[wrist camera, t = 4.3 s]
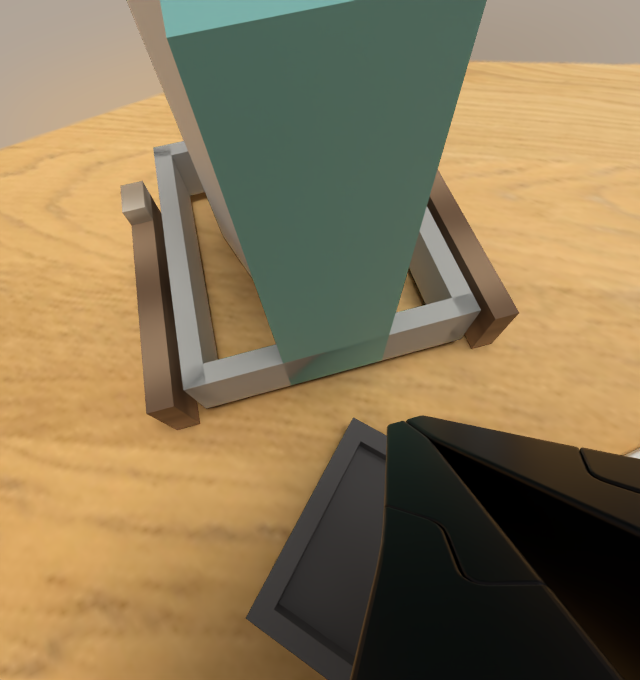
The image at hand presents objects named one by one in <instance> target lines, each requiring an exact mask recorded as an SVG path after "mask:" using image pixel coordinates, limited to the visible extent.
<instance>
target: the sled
mask: <svg viewBox="0 0 640 680" xmlns="http://www.w3.org/2000/svg"><path fill="white" fill-rule="evenodd" d="M486 1H487V0H160V4H161V10H162V15H163V21H164V26H165V32H166V38H167V41H168V43H169V46H170V49H171V52H172V54H173V57H174V60H175V63H176V66H177V68H178V71H179V74H180V77H181V80H182V82H183V85H184V88H185V91H186V94H187V96H188V99H189V102H190V105H191V108H192V110H193V113H194V116H195V119H196V122H197V124H198V127H199V130H200V133H201V135H202V138H203V141H204V144H205V147H206V149H207V152H208V155H209V158H210V161H211V163H212V166H213V169H214V172H215V175H216V177H217V180H218V183H219V186H220V189H221V191H222V194H223V197H224V200H225V203H226V205H227V208H228V211H229V214H230V217H231V219H232V222H233V225H234V228H235V230H236V233H237V236H238V239H239V242H240V244H241V247H242V250H243V253H244V256H245V258H246V261H247V264H248V267H249V270H250V272H251V275H252V278H253V281H254V284H255V286H256V289H257V292H258V295H259V298H260V300H261V303H262V306H263V309H264V311H265V314H266V317H267V320H268V323H269V325H270V328H271V331H272V334H273V337H274V339H275V342H276V345H272V346H268V347H264V348H260V349H257V350H253V351H249V352H245V353H241V354H238V355H234V356H230V357H226V358H223V359H219V360H218V357H217V352H216V346H215V340H214V334H213V328H212V322H211V316H210V311H209V305H208V299H207V293H206V287H205V281H204V275H203V270H202V264H201V258H200V252H199V246H198V240H197V234H196V228H195V223H194V217H193V211H192V205H191V199H190V195H195V194H199V193H203V192H205V191H204V189H203V186H202V184H201V181H200V179H199V176H198V174H197V172H196V169H195V167H194V164H193V162H192V159H191V157H190V154H189V152H188V150H187V147H186V145H185V142H184V141H182V142H177V143H173V144H168V145H164V146H159V147H155V148H153V149H154V157H155V165H156V173H157V181H158V189H159V197H160V205H161V213H162V221H163V230H164V238H165V246H166V254H167V262H168V270H169V278H170V286H171V294H172V302H173V310H174V318H175V326H176V334H177V342H178V350H179V358H180V366H181V374H182V382H183V390H184V391H185V392H186V393H188V394H189V395H190V396H191V397H193V398H194V399H195V400H196V401H198V402H199V403H200V404H201V405H203V406H204V407H205V408H210V407H214V406H217V405H221V404H225V403H228V402H232V401H236V400H239V399H243V398H247V397H250V396H254V395H258V394H261V393H265V392H269V391H272V390H276V389H280V388H283V387H287V386H291V385H294V384H298V383H302V382H305V381H309V380H313V379H316V378H320V377H324V376H327V375H331V374H335V373H338V372H342V371H346V370H349V369H353V368H357V367H360V366H364V365H368V364H371V363H375V362H379V361H382V360H386V359H390V358H393V357H397V356H401V355H404V354H408V353H412V352H415V351H419V350H423V349H426V348H430V347H434V346H437V345H441V344H445V343H448V342H452V341H456V340H459V339H461V338H462V337H463V335H464V334H465V332H466V331H467V330H468V328H469V327H470V325H471V324H472V322H473V321H474V320H475V318H476V317H477V315H478V314H479V313H480V311H481V309H480V307H479V305H478V303H477V301H476V300H475V298H474V296H473V294H472V292H471V290H470V288H469V286H468V284H467V282H466V280H465V278H464V277H463V275H462V273H461V271H460V269H459V267H458V265H457V263H456V261H455V259H454V257H453V255H452V253H451V252H450V250H449V248H448V246H447V244H446V242H445V240H444V238H443V236H442V234H441V232H440V230H439V228H438V227H437V225H436V223H435V221H434V219H433V217H432V215H431V213H430V211H429V209H428V207H427V204H428V200H429V197H430V193H431V190H432V186H433V183H434V180H435V176H436V173H437V169H438V166H439V162H440V159H441V155H442V152H443V149H444V145H445V142H446V138H447V135H448V131H449V128H450V125H451V121H452V118H453V114H454V111H455V107H456V104H457V100H458V97H459V94H460V90H461V87H462V83H463V80H464V76H465V73H466V69H467V66H468V63H469V59H470V56H471V52H472V49H473V45H474V42H475V39H476V35H477V32H478V28H479V25H480V21H481V18H482V14H483V11H484V8H485V4H486ZM408 269H410V271H411V273H412V275H413V278H414V280H415V282H416V284H417V286H418V289H419V291H420V293H421V295H422V297H423V300H424V302H425V304H426V305H423V306H420V307H416V308H412V309H408V310H404V311H401V312H397V313H396V310H397V307H398V303H399V300H400V296H401V293H402V290H403V286H404V283H405V279H406V276H407V272H408Z"/></svg>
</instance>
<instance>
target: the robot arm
mask: <svg viewBox="0 0 640 680" xmlns="http://www.w3.org/2000/svg"><path fill="white" fill-rule="evenodd" d="M350 680H640V459H638V458H633V457H628V456H623V455H617V454H612V453H607V452H602V451H597V450H592V449H587V448H581V449H580V451H579V449H578V448H577V447H574V446H569V445H564V444H559V443H554V442H549V441H545V440H540V439H535V438H530V437H525V436H520V435H515V434H511V433H506V432H501V431H496V430H491V429H486V428H481V427H477V426H472V425H467V424H462V423H457V422H452V421H447V420H443V419H438V418H433V417H428V416H418V417H414V418H411V419H408V420H407V421H406V422H405V421H400V422H397V423H393V424H390V425H388V427H387V444H386V470H385V495H384V510H383V528H382V538H381V546H380V552H379V557H378V562H377V568H376V572H375V576H374V581H373V585H372V589H371V593H370V597H369V601H368V606H367V610H366V614H365V618H364V622H363V626H362V631H361V635H360V639H359V643H358V647H357V651H356V656H355V660H354V664H353V668H352V672H351V676H350Z"/></svg>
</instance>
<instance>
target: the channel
mask: <svg viewBox="0 0 640 680" xmlns="http://www.w3.org/2000/svg"><path fill="white" fill-rule="evenodd" d="M121 199H122V213H123V214H124V215H125V217H126V218H127V220H128V221H129V222H130V224H131V225H132V236H133V249H134V262H135V274H136V287H137V300H138V312H139V325H140V338H141V350H142V363H143V376H144V388H145V401H146V414H148V415H150V416H152V417H154V418H156V419H157V420H159V421H161V422H163V423H165V424H167V425H169V426H171V427H173V428H174V429H176V430H179V429H182V428H186V427H189V426H193V425H197V424H200V421H199V414H198V406H197V401H196V400H195V399H194V398H193V397H191V396H190V395H189V394H188V393H186V392H185V391H184V390H183V382H182V374H181V366H180V358H179V350H178V342H177V334H176V326H175V318H174V310H173V302H172V294H171V286H170V278H169V270H168V262H167V254H166V246H165V238H164V230H163V221H162V214H161V212H160V210H159V209H158V207H157V205H156V204H155V202H154V200H153V198H152V197H151V195H150V193H149V192H148V190H147V188H146V187H145V185H144V183H143V181H140V182H136V183H131V184H127V185H122V186H121ZM427 207H428V209H429V211H430V213H431V215H432V217H433V219H434V221H435V223H436V225H437V227H438V228H439V230H440V232H441V234H442V236H443V238H444V240H445V242H446V244H447V246H448V248H449V250H450V252H451V253H452V255H453V257H454V259H455V261H456V263H457V265H458V267H459V269H460V271H461V273H462V275H463V277H464V278H465V280H466V282H467V284H468V286H469V288H470V290H471V292H472V294H473V296H474V298H475V300H476V301H477V303H478V305H479V307H480V309H481V311H480V313H479V314H478V315H477V317H476V318H475V320H474V321H473V322H472V324H471V325H470V327H469V328H468V330H467V331H466V332H465V336H466V338H467V340H468V342H469V345H470V347H471V349H473V348H476V347H480V346H483V345H487V344H491V343H492V342H493V341H494V340H495V339H496V338H497V337H498V336H499V335H500V334H501V332H502V331H503V330H504V329H505V328H506V327H507V326H508V325H509V324H510V322H511V321H512V320H513V319H514V318H515V317H516V316H517V315H518V314H519V312H518V310H517V308H516V306H515V305H514V303H513V301H512V299H511V297H510V296H509V294H508V292H507V290H506V289H505V287H504V285H503V283H502V282H501V280H500V278H499V276H498V275H497V273H496V271H495V269H494V268H493V266H492V264H491V262H490V261H489V259H488V257H487V255H486V253H485V252H484V250H483V248H482V246H481V245H480V243H479V241H478V239H477V238H476V236H475V234H474V232H473V231H472V229H471V227H470V225H469V224H468V222H467V220H466V218H465V216H464V215H463V213H462V211H461V209H460V208H459V206H458V204H457V202H456V201H455V199H454V197H453V195H452V194H451V192H450V190H449V188H448V187H447V185H446V183H445V181H444V180H443V178H442V176H441V174H440V172H439V171H438V169H437V173H436V176H435V180H434V183H433V186H432V190H431V193H430V197H429V200H428V204H427Z"/></svg>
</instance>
